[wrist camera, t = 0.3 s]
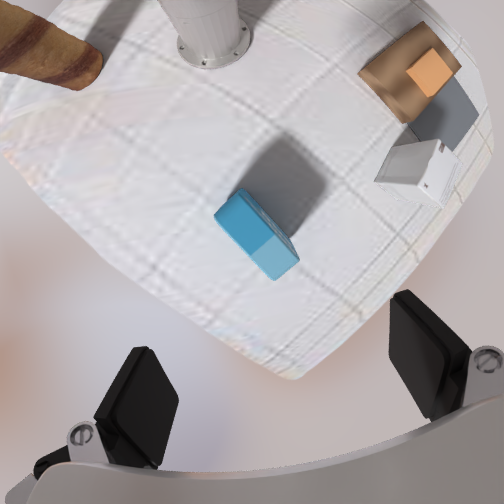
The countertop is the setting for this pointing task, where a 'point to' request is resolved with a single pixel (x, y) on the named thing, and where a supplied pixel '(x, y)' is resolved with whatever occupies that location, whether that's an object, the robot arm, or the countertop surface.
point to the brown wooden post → (44, 50)
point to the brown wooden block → (398, 80)
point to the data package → (257, 234)
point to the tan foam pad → (429, 72)
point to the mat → (446, 116)
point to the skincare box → (420, 173)
